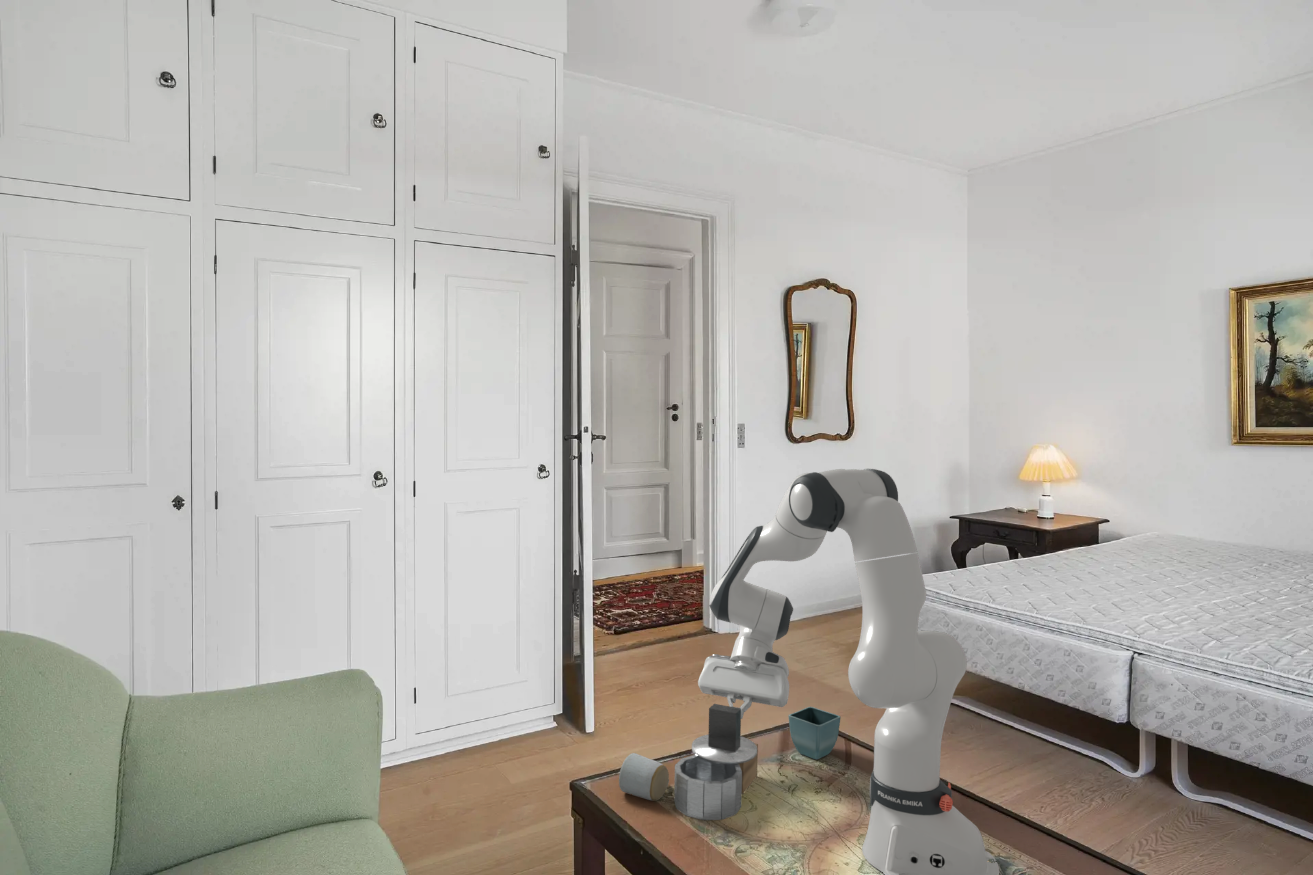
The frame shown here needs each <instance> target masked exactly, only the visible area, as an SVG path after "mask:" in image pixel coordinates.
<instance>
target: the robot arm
mask: <svg viewBox="0 0 1313 875" xmlns="http://www.w3.org/2000/svg"><path fill="white" fill-rule="evenodd" d="M838 528H839V529H841V530H842V531H845V532H846V533H847V535H848V536H849V538H850V541H851V546H852V553H853V558H854V562H855V563H854V564H855V568H856V574H857V580H858V584H859V585H858V586H859V591H860V597H861V606H862V607H861V608H862V609H861V610H862V616H861V617H862V618H861V628H860V629H861V631H860V634H859V635H860V637H859V642H858V645H857V649H856V651H855V653H854V654H853V656H852V658H851V659H850V661H849V664H848V665H849V666H848V671H847V675H848V676H847V677H848V682H849V686H850V687H851V690H852V692H853V694H854V695H855V696H856V698H857V699H858V700H859V701H860V702H861V703H862V704H864V705H866V706H867V707H870V708H872V709H885V711H884V713H883V715H882V716H881V718H880V719H879V721H878V723H877V724H876V726H875V730H874V741H873V742H874V743H873V745H874V746H873V769H872V772H871V774H870V781H869V800H870V805H871V808H870V816H869V821H868V826H867V832H866V835H865V838H864V841H863V844H862V847H861V852H862V855H863V857H864V858H865V860H866V861H867V862H868V863H869V864H870V865H871V866H873V867H874V868H875V869H876V870H878V871H880V873H882V872H883V873H882V874H885V875H999V873H1000V868H999V864H998V861H997V859H996V858H995V857H994V856H993V854H992V853H990V852H989V851H986V846H985V842H984V838H983V836H982V832H981V831H980V830H979V828H978V826H977V825H976V824H975V823H974V822H972V821H971V820H970V819H969V818H967V817H966V816H965V815H964V814H963V813H962V812H961V811H959V809H957V808H956V807H955V806H954V805H953V803H954V801H953V792H952V785H951V783H950V782H948V784H946V783H945V782H944V781H942V780H941V779H940V776H941V773H940V772H941V752H942V751H941V748H942V737H943V733H944V729H945V725H946V720H947V717H948V714H949V710H950V706H951V703H952V699H953V697H954V694H955V692H956V689H957V687H958V685H959V683H960V682H961V680H962V678H963V677H964V676H965V674H966V671H967V667H968V664H967V662H968V661H967V656H966V653H965V650H964V648H963V646H962V644H961V643H960V642H959V641H958V639H956V638H955V637H954V636H952V635H951V634H949V633H947V632H943V631H935V630H919V619H920V613H921V611H922V608H923V607H924V604H925V603H926V598H927V591H926V586H925V581H924V577H923V571H922V567H921V566H922V565H921V563H920V559H919V554H918V548H917V545H916V541H915V538H914V534H913V531H912V528H911V524H910V522H909V520H908V517H907V515H906V513H905V510H904V507H903V506H902V505H901V503H900V502H899V492H898V488H897V484H896V483H895V480H894V479H893V478H892V476H891V475H890V474H888V473H887V472H885V471H882V470H879V469H876V468H864V469H854V468H853V469H845V468H839V469H828V470H824V471H821V472H814V471H813V472H805V473H801V474H799V475H798V476H796V477H795V478H793V480H792V482H790V484H789V486H788V488H787V489H786V491H785V492H784V495H783V496H782V498H781V500H780V502H779V505H778V508H777V510H776V513H775V515H774V516H773V518H772V519H771V520H770V521H769V522H767V523H766V524H764V525H759V526H755V527H754V528H753V529H752V530H751V532H750V533H749V534H748V536H747V537H746V539H745V540H744V541H743V543H742V545H741V547H740V548H739V549H738V551H737V553H736V555H735V556H734V558H733V560H732V561H731V563H730V565H729V566H728V568H727V569H726V571H725V572H724V573H723V575H722V577H721V578H720V579H719V580H718V582H716V584H715V586H714V588H713V589H712V591H711V594H710V598H709V606H708V607H710V611H711V612H712V614H713V615H714V617H715V618H716V620H719V621H722V622H726V623H730V624H731V623H732V624H735V625H738V626H739V634H738V636H737V637H736V638H735V641H734V645H733V649H732V651H731V656H730V655H721V654H718V653H717V654H716V653H715V654H712V655H709V656H707V657H706V659H705V660H704V663H703V667H702V668H703V669H702V671H701V672H700V675H699V678H698V680H697V685H698V687H699V689H700V691H701V693H702V694H704V695H705V694H707V695H711V696H717V697H723V698H726V699H727V703H728V706H729V707H735V708H740V709H741V720H743V718H744V714H745V712H747V711H748V710H749V709H750V708H751V707H752V703H756V704H761V705H768V706H772V707H779V708H784V707H785V706H787V704H788V701H789V696H790V695H789V694H790V682H789V679H788V677H789V675H790V669H789V665H788V663H787V661H786V659H785V658H784V657H783V656H782V655H779V654H778V653H775V652H773V644H774V643H775V641H778V640H780V639H782V638H783V637H784V636H786V635H787V634H788V632H789V629H790V623H791V618H792V615H793V612H794V606H793V605H792V603H791V600H790V599H789V597H787V596H786V595H784V594H782V593H779V592H777V591H773V590H771V589H768V588H764V587H761V586H759V585H757V584H753V583H750V582H747V581H745V578H746V577H747V575H748V574H749V573H750V571H751V569H752V568H753V566H754V565H756V564H757V563H760V562H768V561H769V562H770V561H775V562H776V561H778V562H799V561H802V560H806V559H808V558H810V557H812V556H813V555H814V554H816V552H817V551H818V550H819V549H820V547H821V545H822V543H823V542H824V539H825V537H826V535H827V532H829V533H833V532H835V530H836V529H838ZM737 700H739V701H743V703H742V705H740V707H736V706H734V704H736V701H737ZM989 859H994V861H997V862H995V863H994V862H993V863H990V862H987V861H988V860H989ZM992 861H993V860H992Z"/></svg>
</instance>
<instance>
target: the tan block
mask: <svg viewBox="0 0 1313 875" xmlns="http://www.w3.org/2000/svg"><path fill="white" fill-rule="evenodd" d="M755 745H756V746H757V755H756V756H755V757H754V758H753V759H752V760H750V761H748V762H744V763H740V764H739V766H740V768H741V770H742V795H744V793H745V792H746V791H747V790H748V788H749V787H750V786H751V785H752V783H753V782H754V781H755V779H756V778H757V777H758V760H759V759H758V753H759V744H758V743H755Z"/></svg>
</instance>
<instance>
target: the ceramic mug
mask: <svg viewBox="0 0 1313 875" xmlns="http://www.w3.org/2000/svg"><path fill="white" fill-rule="evenodd" d="M669 775H670V774H669V770H668V768H667V766H665V765H664V764H663V763H661V762H659V761H656V760H654V759H651V758H648V757H646V756H644V755H641V754H638V753H636V752H635V753H634V752H632V753H630V754H629V755H627V756H626V757H625V759H624V760H623V763H622V764H621V767H620V770H619V776H618V785H619V790H621V791H622V793H626V794H628V795H631V794H632V796H635V797H638V798H642V799H644V800H647V801H658V800H660V799H661V798H662V797H663V796H664V795H665V793H666V791H667V789H668V786H669V782H670V779H669Z"/></svg>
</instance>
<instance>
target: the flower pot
mask: <svg viewBox="0 0 1313 875" xmlns="http://www.w3.org/2000/svg"><path fill="white" fill-rule="evenodd" d="M841 719H842V717H841V716H840V715H838V714H835V713H831V712H829V711H825V710H822V709H819V708H817V707H814V706H807V707H804V708H803V709H800V710H798V711H796V712H793V713H790V714H788V725H789V733H790V737H791V740H792V743H793V745H794V747H795V749H796V751H797V752H798V753H799V754H800V755H803V756H806V757H808V758H811V759H813V760H820V759H821V758H823V757H826V756H827V755H829V754H830V753H831V752H832V751H833V749H834V748H835V745H836V743H837V741H838V737H839V731H840V724H841Z"/></svg>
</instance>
